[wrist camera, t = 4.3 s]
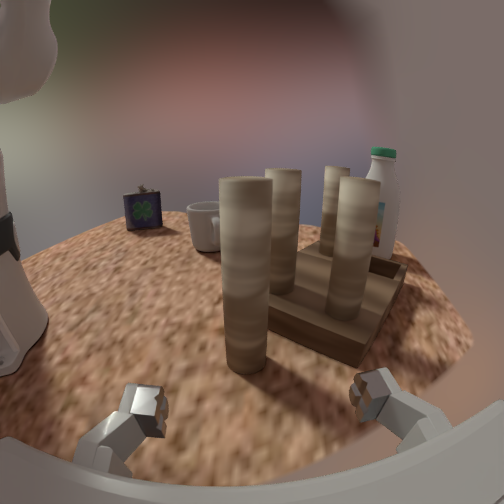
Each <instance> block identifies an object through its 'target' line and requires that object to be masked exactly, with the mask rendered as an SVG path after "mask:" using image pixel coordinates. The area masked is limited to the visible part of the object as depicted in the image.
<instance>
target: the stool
mask: <svg viewBox="0 0 504 504" xmlns="http://www.w3.org/2000/svg"><path fill="white" fill-rule="evenodd" d="M349 174H350V168H345V167H337V166H325V180H324V196H323V209H322V210H323V211H322V222H321V233H320V241H317V242H315V243H313V244H311V245H309V246H308V247H306V248H304V249H302V250H300V251H298V252H297V246H298V231H299V215H300V195H301V170H297V169H284V168H283V169H282V168H269V169H265V177H266V178H271V179H273V196H272V232H271V261H270V286H269V309H268V329H269V330H271V331H274V332H276V333H278V334H280V335H282V336H284V337H286V338H288V339H291V340H293V341H295V342H297V343H299V344H302V345H304V346H306V347H308V348H310V349H313V350H315V351H317V352H320V353H322V354H324V355H326V356H329V357H331V358H333V359H336V360H338V361H341V362H343V363H345V364H348V365H350V366H353V367H355V368H358V366H359V365H360V363H361V362H362V360H363V358H364V357H365V355H366V353H367V352H368V350H369V348H370V347H371V345H372V343H373V341H374V340H375V338H376V336H377V334H378V332H379V331H380V329H381V327H382V325H383V323H384V321H385V319H386V318H387V316H388V314H389V312H390V310H391V308H392V306H393V304H394V302H395V300H396V298H397V296H398V293H399V291H400V289H401V287H402V285H403V283H404V279H405V275H406V271H407V266H408V265H407V264H403V263H400V262H396V261H393V260H389V259H386V258H382V257H378V256H375V255H372V249H373V243H374V236H375V229H376V222H377V214H378V206H379V197H380V186H381V182H380V181H376V180H372V179H366V178H358V177H349Z"/></svg>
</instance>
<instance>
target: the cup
mask: <svg viewBox="0 0 504 504" xmlns="http://www.w3.org/2000/svg"><path fill="white" fill-rule="evenodd" d="M187 214H188V221H189V227H190V233H191V238H192V243H193V246H194V247H195V248H196V249H197V250H199V251H203V252H215V251H219V250H221V243H220V208H219V202H200V203H194V204H191V205H189V206H188V207H187Z"/></svg>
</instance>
